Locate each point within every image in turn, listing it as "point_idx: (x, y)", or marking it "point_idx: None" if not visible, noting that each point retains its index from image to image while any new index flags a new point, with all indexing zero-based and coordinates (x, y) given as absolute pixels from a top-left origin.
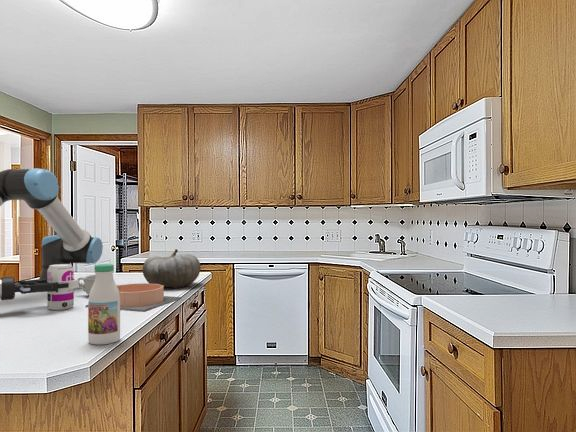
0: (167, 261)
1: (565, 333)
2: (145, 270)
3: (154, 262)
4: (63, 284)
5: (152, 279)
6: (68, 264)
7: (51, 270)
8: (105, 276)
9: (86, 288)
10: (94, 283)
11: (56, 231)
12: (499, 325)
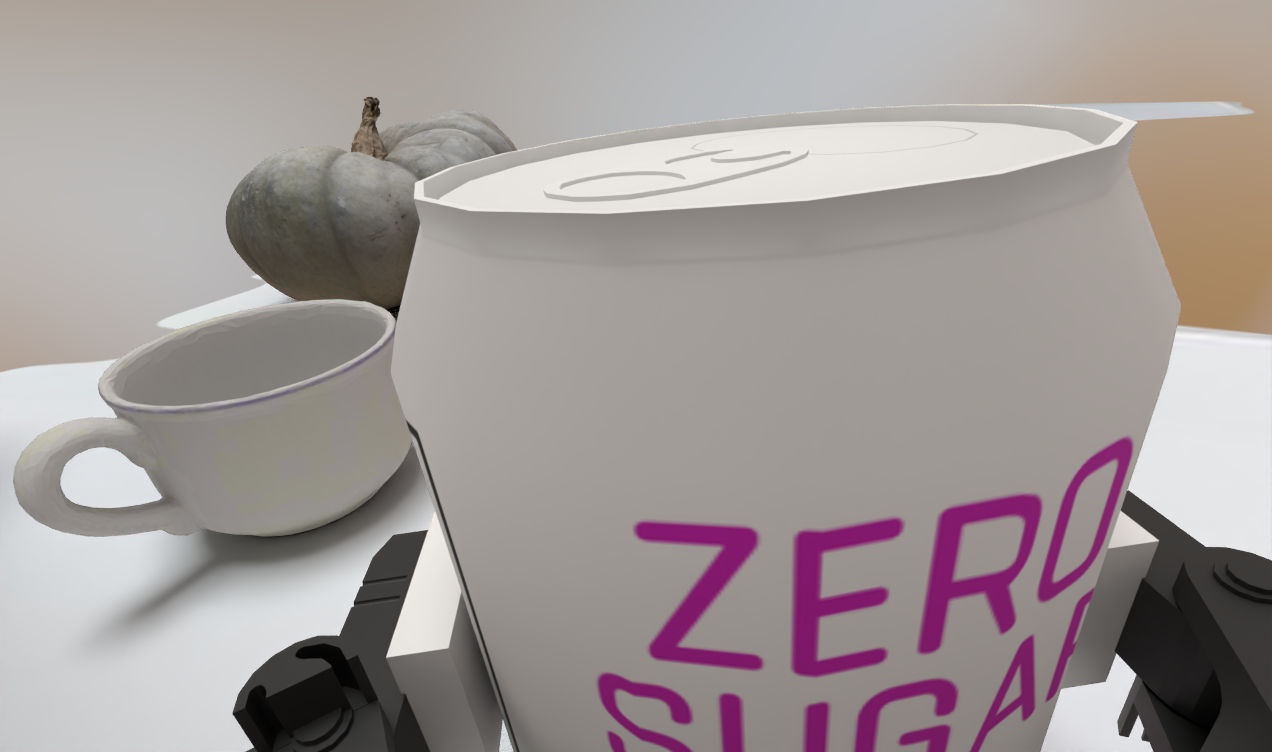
0: (462, 146)
1: (1238, 102)
2: (330, 234)
3: (371, 172)
4: (1128, 506)
5: (402, 270)
6: (577, 148)
7: (1161, 340)
8: None
9: (267, 490)
10: None
11: None
12: (1187, 113)
